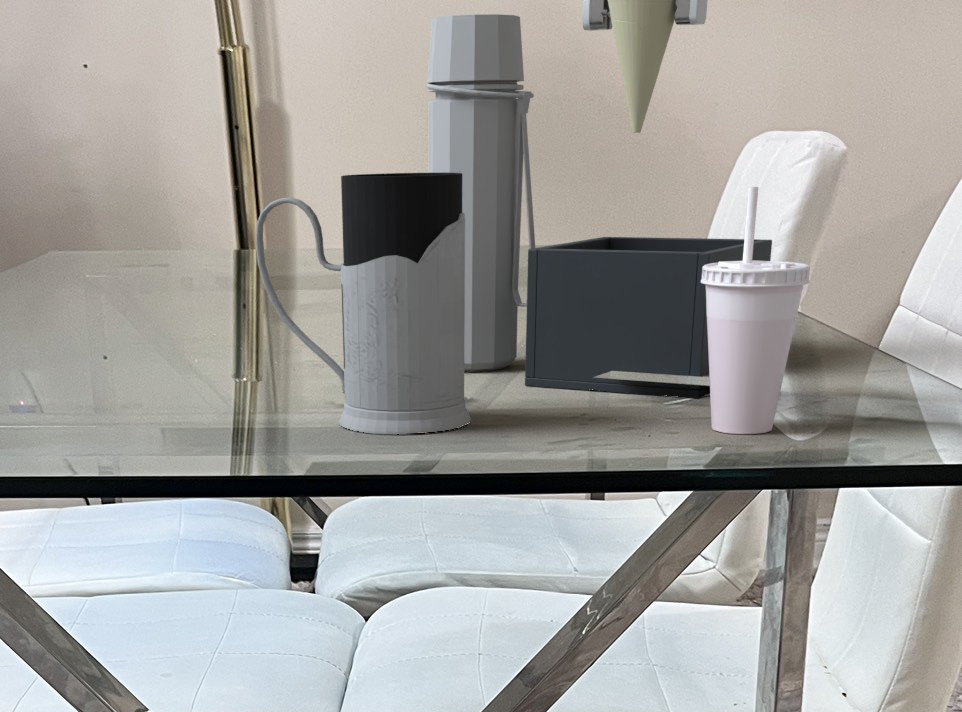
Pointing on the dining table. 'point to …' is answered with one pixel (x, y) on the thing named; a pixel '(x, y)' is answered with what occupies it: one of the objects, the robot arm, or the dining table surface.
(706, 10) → the robot arm
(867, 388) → the dining table surface
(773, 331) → the smoothie
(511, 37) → the water bottle
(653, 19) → the ice cream cone
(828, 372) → the dining table surface
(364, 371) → the glass holder
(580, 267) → the open storage box
